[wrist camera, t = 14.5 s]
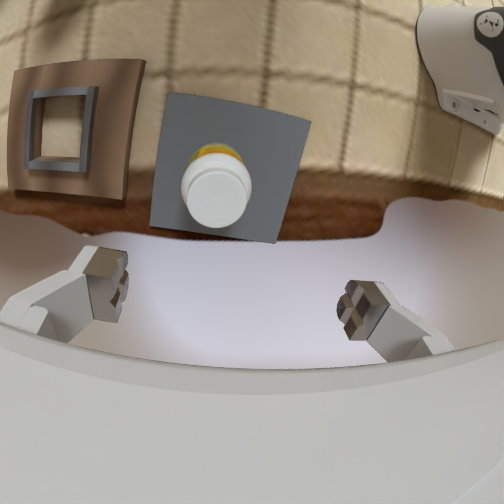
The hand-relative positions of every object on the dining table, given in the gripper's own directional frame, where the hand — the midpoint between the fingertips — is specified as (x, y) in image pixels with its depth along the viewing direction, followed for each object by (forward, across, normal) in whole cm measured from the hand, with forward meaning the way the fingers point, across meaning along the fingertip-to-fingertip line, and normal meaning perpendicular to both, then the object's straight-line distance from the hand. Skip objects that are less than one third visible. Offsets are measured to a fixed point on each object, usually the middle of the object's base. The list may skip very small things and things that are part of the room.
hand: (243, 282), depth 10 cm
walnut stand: (+19, +18, -2) cm, 26 cm away
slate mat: (+20, 0, +1) cm, 20 cm away
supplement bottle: (+19, +1, +1) cm, 19 cm away
